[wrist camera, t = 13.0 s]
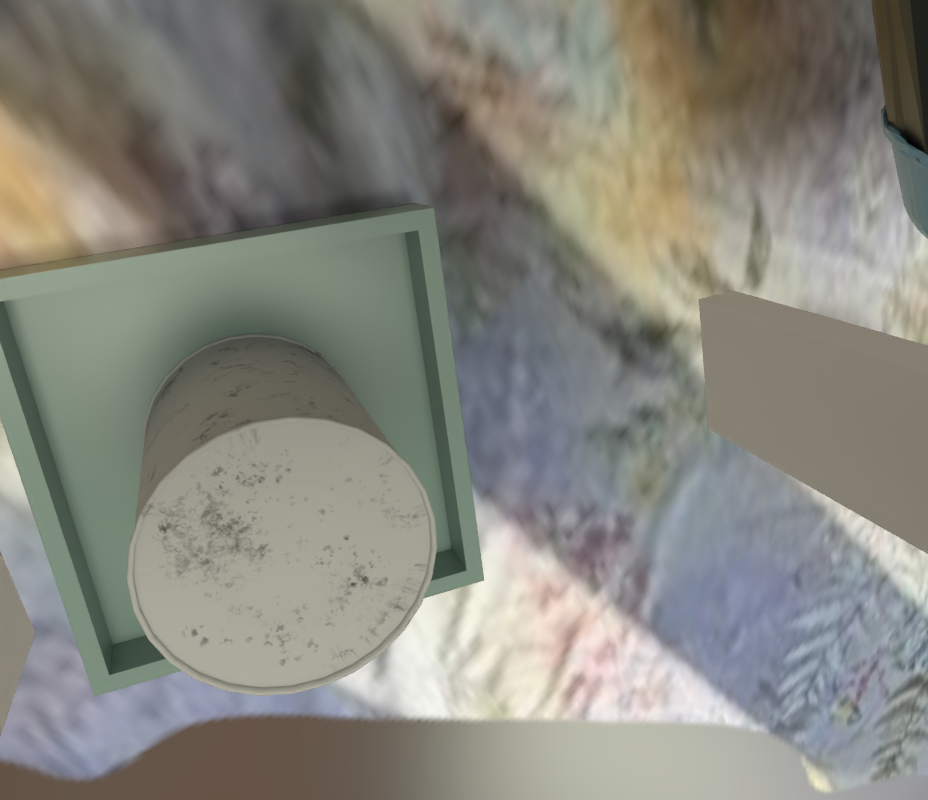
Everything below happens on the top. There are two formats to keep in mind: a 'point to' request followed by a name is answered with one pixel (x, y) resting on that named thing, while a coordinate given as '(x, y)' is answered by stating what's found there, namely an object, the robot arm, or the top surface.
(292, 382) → the speckled white canister
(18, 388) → the tray
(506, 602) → the top surface
